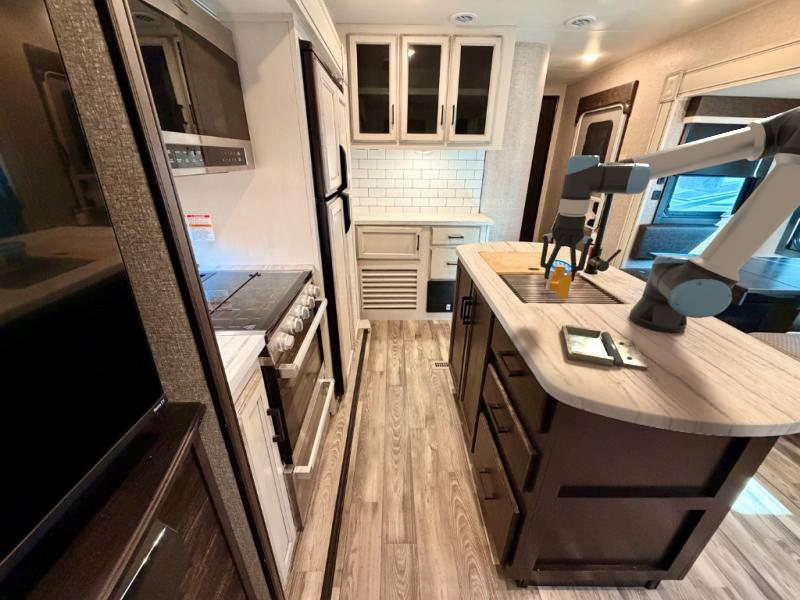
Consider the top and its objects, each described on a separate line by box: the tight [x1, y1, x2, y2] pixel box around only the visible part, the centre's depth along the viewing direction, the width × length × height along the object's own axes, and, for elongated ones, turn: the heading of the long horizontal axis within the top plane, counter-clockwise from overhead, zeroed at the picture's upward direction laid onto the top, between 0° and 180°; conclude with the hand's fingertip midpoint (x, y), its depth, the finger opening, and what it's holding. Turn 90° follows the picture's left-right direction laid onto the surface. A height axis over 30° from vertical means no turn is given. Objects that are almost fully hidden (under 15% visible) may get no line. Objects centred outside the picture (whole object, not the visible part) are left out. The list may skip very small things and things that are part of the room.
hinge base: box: [560, 324, 649, 371], centre depth 92 cm, size 19×17×2 cm
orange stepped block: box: [546, 264, 572, 299], centre depth 100 cm, size 12×4×6 cm, turn 165°
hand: (556, 289), depth 101 cm, fingers closed on orange stepped block, 5 cm apart
